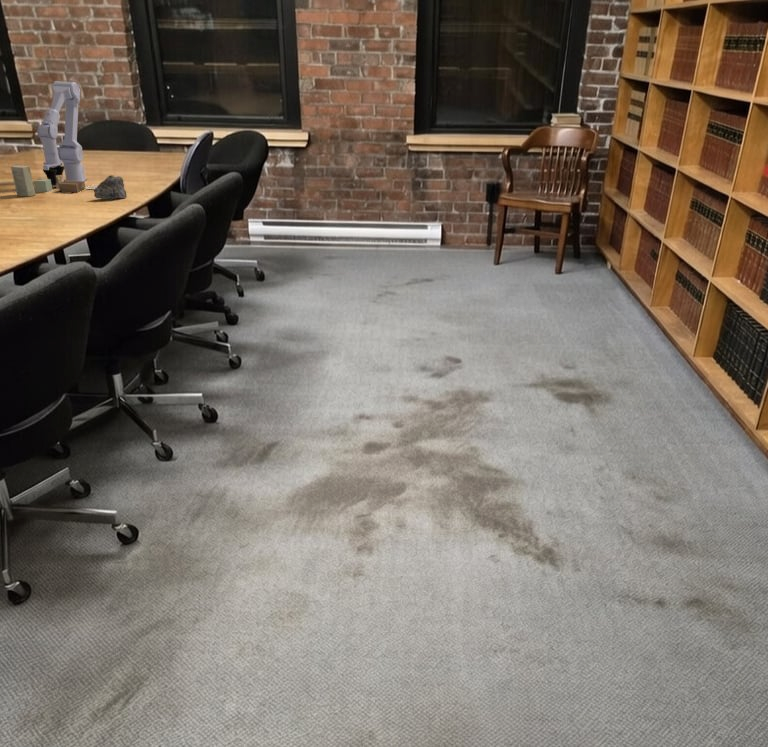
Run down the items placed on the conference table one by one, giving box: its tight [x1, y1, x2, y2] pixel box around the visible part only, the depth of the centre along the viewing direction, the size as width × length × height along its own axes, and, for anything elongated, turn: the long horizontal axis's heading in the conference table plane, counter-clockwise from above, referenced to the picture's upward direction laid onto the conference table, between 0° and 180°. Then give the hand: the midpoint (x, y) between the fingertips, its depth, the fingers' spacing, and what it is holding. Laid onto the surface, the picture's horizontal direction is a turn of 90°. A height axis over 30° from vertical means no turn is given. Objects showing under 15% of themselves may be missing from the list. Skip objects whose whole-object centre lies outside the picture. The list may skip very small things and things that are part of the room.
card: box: [85, 184, 98, 190], centre depth 304 cm, size 10×7×1 cm
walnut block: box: [58, 179, 86, 194], centre depth 295 cm, size 8×8×4 cm
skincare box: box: [10, 164, 36, 197], centre depth 281 cm, size 6×4×12 cm
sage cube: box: [33, 178, 53, 193], centre depth 291 cm, size 5×5×5 cm
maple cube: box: [46, 174, 65, 189], centre depth 300 cm, size 5×5×5 cm
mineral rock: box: [92, 174, 128, 200], centre depth 283 cm, size 13×11×10 cm
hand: (56, 183), depth 301 cm, fingers closed on maple cube, 5 cm apart
